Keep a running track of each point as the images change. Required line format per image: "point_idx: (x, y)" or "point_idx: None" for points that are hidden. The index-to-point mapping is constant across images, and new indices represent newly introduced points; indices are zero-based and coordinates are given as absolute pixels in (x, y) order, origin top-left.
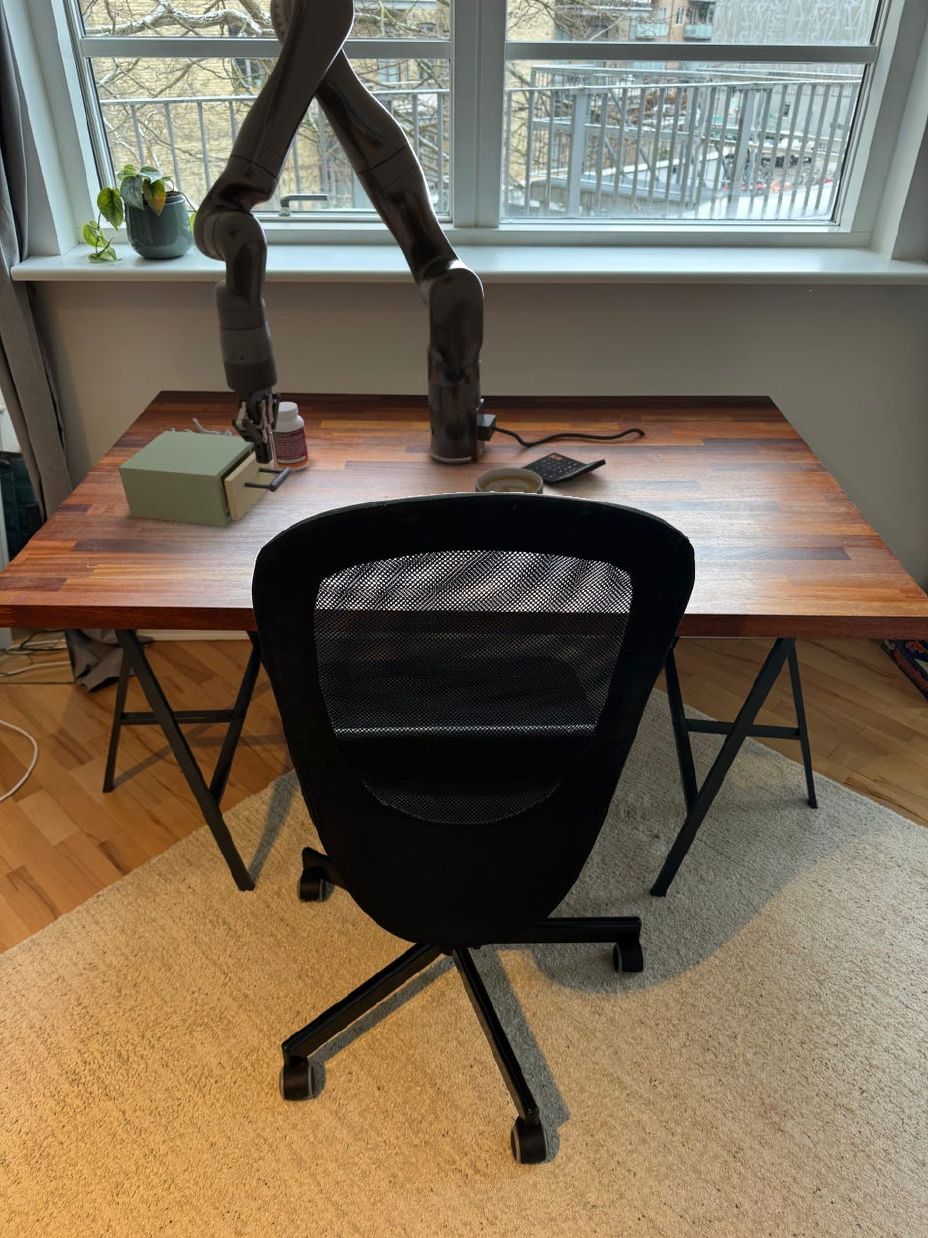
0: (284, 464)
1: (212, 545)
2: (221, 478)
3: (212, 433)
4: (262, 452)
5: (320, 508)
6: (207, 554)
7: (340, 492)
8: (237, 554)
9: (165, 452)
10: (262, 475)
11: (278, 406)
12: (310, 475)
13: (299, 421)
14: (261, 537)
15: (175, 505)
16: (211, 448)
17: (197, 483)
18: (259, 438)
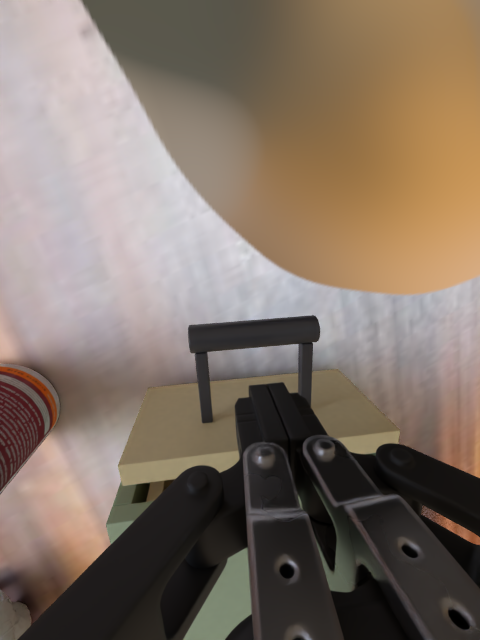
0: (51, 409)
1: (409, 371)
2: None
3: (1, 631)
4: (317, 419)
5: (216, 221)
6: (441, 362)
7: (112, 204)
8: (440, 308)
9: None
10: (197, 407)
11: (38, 632)
12: (49, 331)
13: None
14: (372, 295)
15: None
16: (234, 587)
17: None
18: (414, 464)
